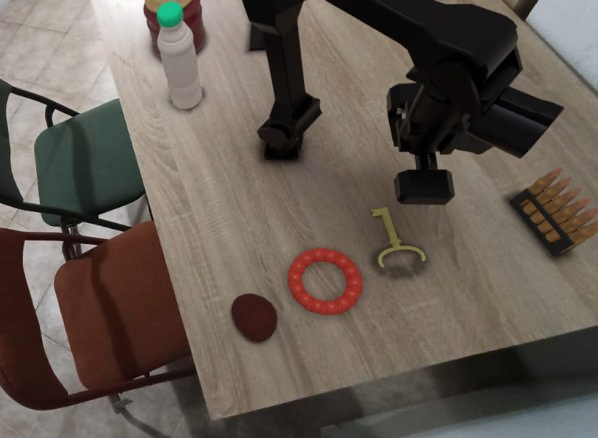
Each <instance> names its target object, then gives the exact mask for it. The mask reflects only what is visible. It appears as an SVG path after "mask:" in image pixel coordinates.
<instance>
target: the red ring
mask: <svg viewBox="0 0 598 438" xmlns="http://www.w3.org/2000/svg"><path fill="white" fill-rule="evenodd" d="M320 262H321V263H322V262H325V263H329V264H332V265H334V266H336V267H337V268H338V269H340V270H341V272H342V273H343V275H344V277H345V281H346V283H345V285H346V286H345V287H346V288H345V289H344V291H343V293H342V294H341V295H340V296H339V297H337V298H335V299H331V300H330V299H329V300H322V299H319V298H315V296H313V295H311V294H310V293H309V292H308V291H307V290H306V287H305V286H304V284H303V274H305V271H306V269H307V268H308V267H309V266H311V265H313V264H315V263H320ZM287 287H288V290H289V291H290V293H291V295H292V297H293V300H294V301H295V302H297V303H298V304H299V305H300V306H301V307H302V308H304V309H305V310H306V311H308V312H311V313H315V314H318V315H321V316H335V315H341V314H343V313H345V312H347V311H348V310H350V309H352V308H353V307H355V306H356V304H357V302H358V301H359V299H360V297H361V295H362V293H363V276H362V274H361V272H360V269H359V268H358V266H357V264H356V263H355V262H354V261H353V260H352V259H351V258H349V257H348V256H347V255H346V254H345V253H343V252H341V251H339V250H335V249H331V248H327V247H319V248H312V249H307V250H305V251H304V252H302V253H301V254H299V255H297V256H296V257H295V258H294V259H293V261H292V262H291V264H290V266H289V268H288V270H287Z"/></svg>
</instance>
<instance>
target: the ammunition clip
mask: <svg viewBox="0 0 598 438" xmlns="http://www.w3.org/2000/svg"><path fill="white" fill-rule="evenodd" d="M563 171H564V167H562V166H561V167H557V168H554V169H552V170H550V171H549V172H548V173H546V174H544V176H541V177H539V178H538V179H537V180H536V181H535V182H533V183H532V184H531V185H530V186H528V187H526V188H525V189H523V190H521V192H519V193H518V194H517V195H515V196H513V197H512V198H511V199H509V201H508V202H509V203H510V204H511V206H512V207H513V208H514V210H516V212H517V213H518V215H520V217H521V218H522V219H523V220H524V222H525V223H526V224H527V225H528V227H529V228H530V229H531V230H532V232H533V233H534V234H535V236H536V237H537V238H538V239H539V240H540V241H541V243H542V244H543V245H544V246H545V247H546V249H547V250H548V251H549V253H550V254H551V255H552V256H554V257H557V256H560V255H563V254H566V253H568V252H569V251H571V250H573V249H574V248H576V247H577V246H579V245H581V244H583V243H584V242H585V241H587V240H589V239H590V238H592V237H594V236H595V235H596V234H597V233H598V220H596V221H594V222H592V223H590V224H588V222H590V221H591V220H593V219H594V218H595V217H596V216H597V215H598V207H594V208H591V209H588V210H586V211H584V212H583V213H580V214H578V213H579V212H580V211H582V209H584V208H585V207H587V206H588V205H589V203H590V202H591V199H592V198H591V197H590V196H589V197H583V198H581V199H578V200H576V201H574V202H572V201H573V200H574V199H575V198H576V197H577V196H578V195H579V194H580V193H581V191H582V187H581V186H579V187H578V186H577V187H573V188H571V189H570V190H568V191H566V192H565V193H563V194H561V192H563V191H565V189H566V188H567V187H568V186H569V185H570V184H571V182H572V181H573V177H572V176H568V177H565V178H563V179H561V180H559V181H557V182H556V183H554V184H553V182H554V181H555V180H557V179H558V178H559V176H560V175H561V174H562V172H563ZM552 184H553V185H552ZM560 194H561V195H560ZM570 202H572V203H571V204H570V205H569V203H570ZM577 214H578V215H577ZM586 224H587V225H586Z"/></svg>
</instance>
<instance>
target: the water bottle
mask: <svg viewBox="0 0 598 438" xmlns="http://www.w3.org/2000/svg"><path fill="white" fill-rule="evenodd" d="M157 19H158V22H159V24H160V26H161V28H160V33H159V36H158V40H157V44H158V48H159V50H160V54H161V58H160V59H161V63H162V67H163V72H164V74H165V78H166V80H167V87H168V90H169V95H170V99H171V102H172V104H173V105H174V107H176V108H177V109H181V110H188V109H192V108H194V107H196V106H197V105H198V104H200V102H201V100H202V98H203V89H202V85H201V77H200V74H199V67H198V66H199V65H198V59H197V58H198V57H197V53H196V52H195V47H194V43H193V33H192V31H191V29H190V28H189V27H188V26H187V25H186V24H185V22H184V21H183V9H182V7H181V5H180V4H179V3H177V2H175V1H170V2H166V3H164V4H162V5H161V6H160V7H159V8H158V11H157Z"/></svg>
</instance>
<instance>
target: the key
mask: <svg viewBox="0 0 598 438" xmlns="http://www.w3.org/2000/svg"><path fill="white" fill-rule="evenodd" d="M370 212H371V213H372V214H371V216H372V217H382V220H383V221H382V222H383V223H384V226H385V229H386V232H387V235H388V237H389V241H388V244H390V245H391V246H392V247H389V248H387V249H384V250H383V251H381V252H380V253H379V255H378V257H377V261H378V264H379V266H380V267H381V268H385V264H384V263H383V257H384V256H386V255H387V254H390V253H392V252H396V251H413V252H416V253H418V254H419V256H420V257H421V261H422V262H425V261H426V259H427V257H426V255H425V253H424V252H423V250H422V249H420V248H418V247H415V246H411V245H400V244H401V242H402V240H401V239H400V238H398V235H397V232H396V230H395V227H394V223H393V220H392V217H391V215H390V211H389V208H388V206H383V207H380V208H377V209H372V210H370Z"/></svg>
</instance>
